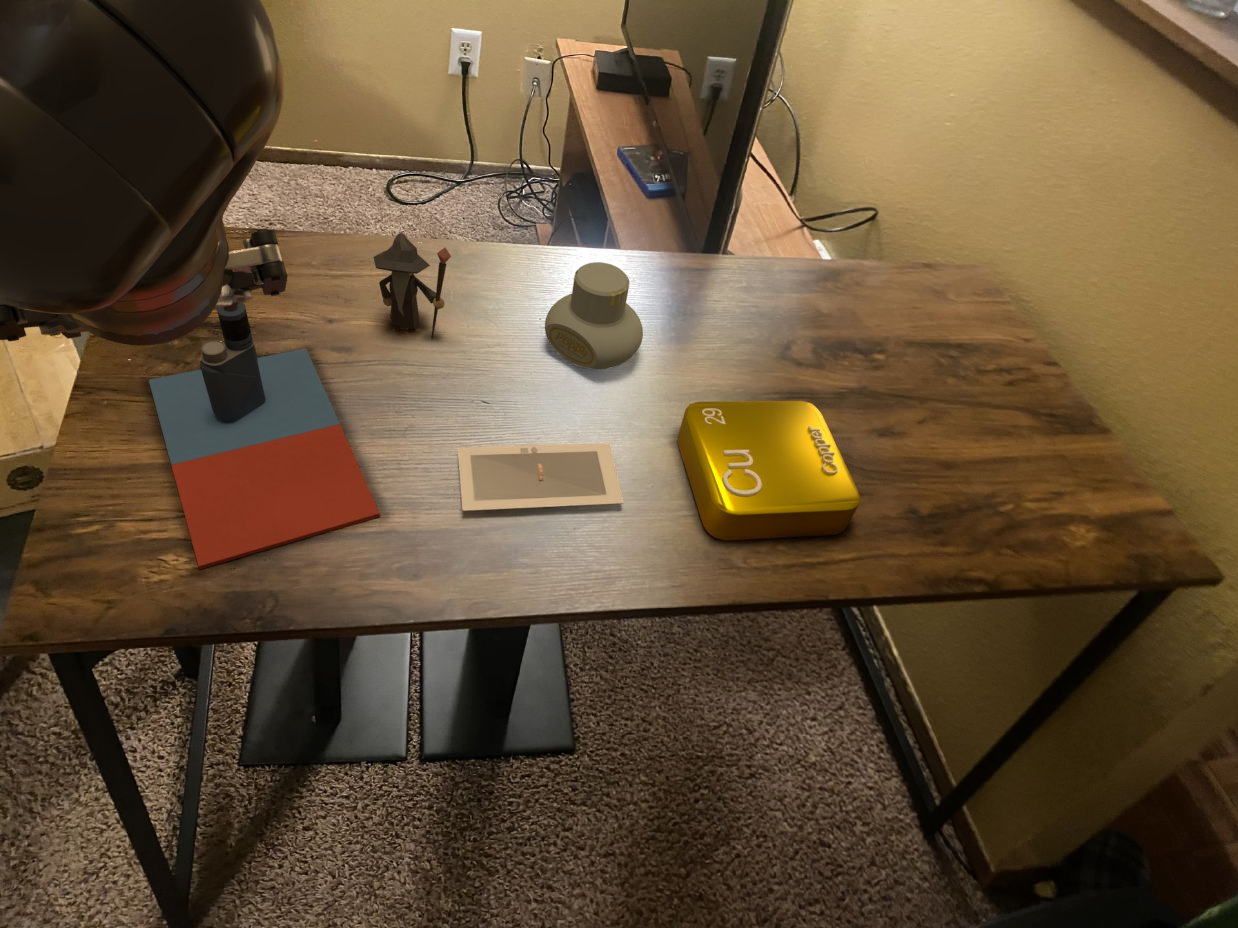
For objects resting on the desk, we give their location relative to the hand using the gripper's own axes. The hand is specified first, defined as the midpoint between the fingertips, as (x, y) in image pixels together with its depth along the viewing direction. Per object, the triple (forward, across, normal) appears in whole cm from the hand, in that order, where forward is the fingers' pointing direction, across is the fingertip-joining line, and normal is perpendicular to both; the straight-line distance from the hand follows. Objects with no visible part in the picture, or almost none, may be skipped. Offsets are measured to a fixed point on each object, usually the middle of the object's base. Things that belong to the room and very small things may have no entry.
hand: (150, 306), depth 50 cm
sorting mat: (+27, -5, +10) cm, 29 cm away
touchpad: (+18, -28, +20) cm, 38 cm away
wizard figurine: (+36, -25, +1) cm, 44 cm away
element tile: (+12, -49, +25) cm, 56 cm away
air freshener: (+29, -42, +8) cm, 51 cm away
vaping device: (+31, -5, +6) cm, 32 cm away
